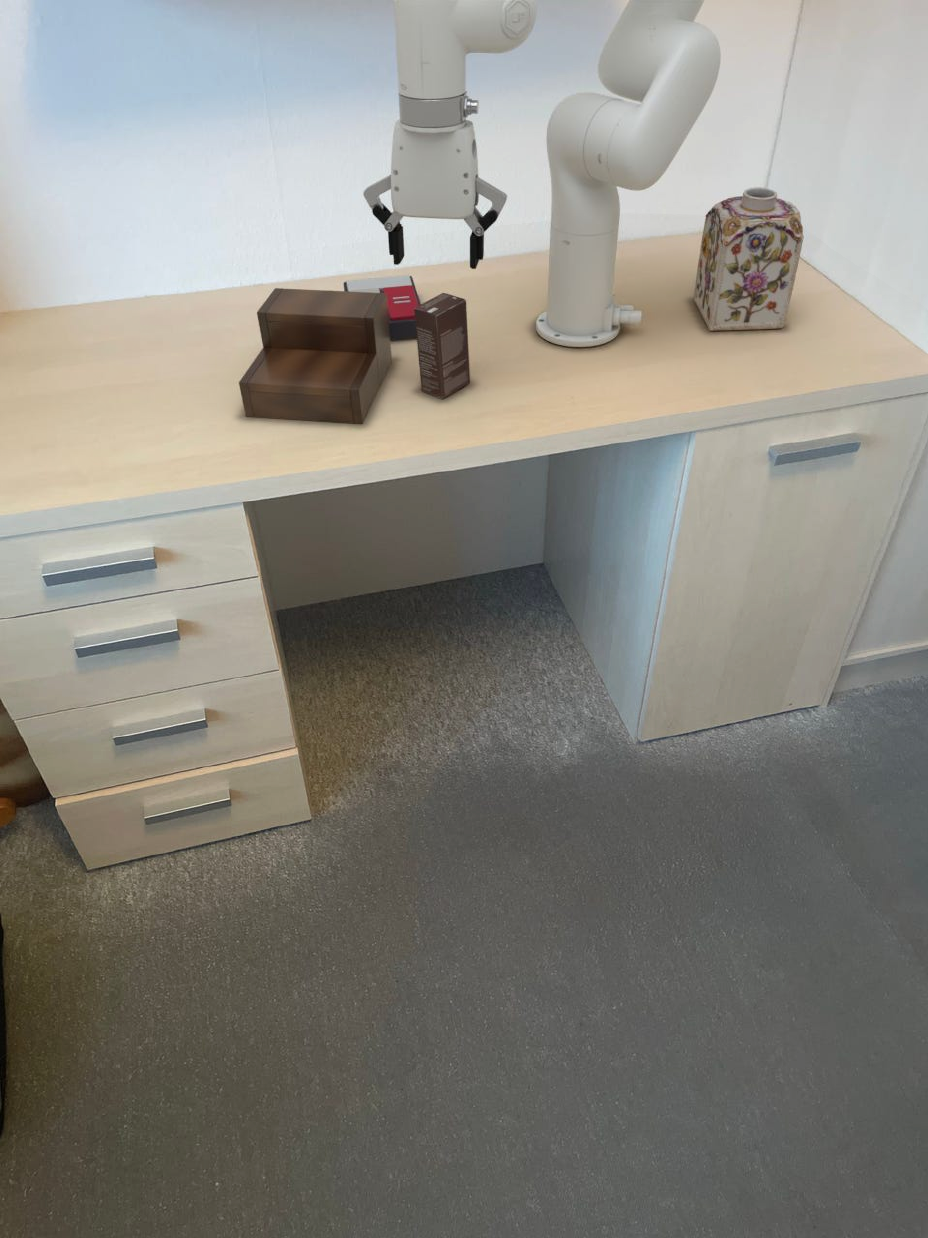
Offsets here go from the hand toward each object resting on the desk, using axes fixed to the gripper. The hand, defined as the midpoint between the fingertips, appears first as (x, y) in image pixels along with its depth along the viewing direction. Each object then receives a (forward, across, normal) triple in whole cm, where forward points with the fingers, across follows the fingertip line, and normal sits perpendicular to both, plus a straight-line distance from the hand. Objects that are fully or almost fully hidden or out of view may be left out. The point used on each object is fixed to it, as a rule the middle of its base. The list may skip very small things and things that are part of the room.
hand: (436, 262), depth 114 cm
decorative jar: (+16, -42, -28) cm, 53 cm away
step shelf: (+17, +16, +1) cm, 24 cm away
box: (+17, -1, 0) cm, 17 cm away
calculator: (+17, +12, -20) cm, 29 cm away
